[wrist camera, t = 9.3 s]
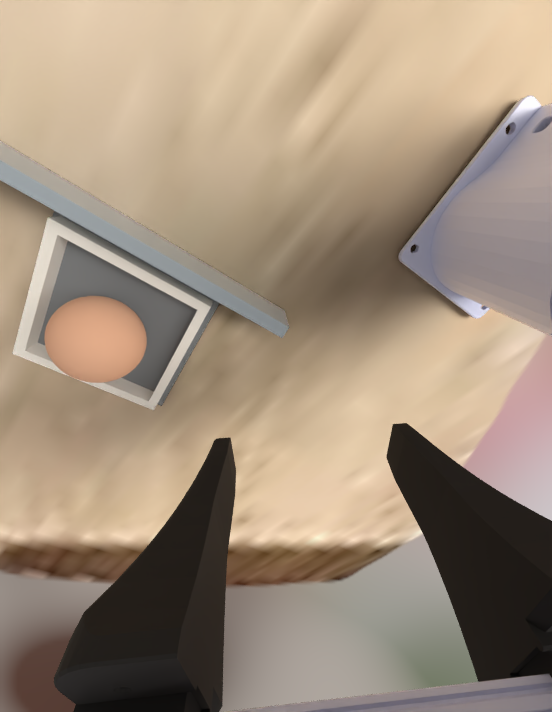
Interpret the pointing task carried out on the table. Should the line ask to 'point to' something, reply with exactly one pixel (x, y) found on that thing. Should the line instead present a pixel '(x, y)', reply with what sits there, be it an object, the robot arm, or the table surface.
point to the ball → (95, 339)
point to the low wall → (135, 238)
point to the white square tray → (125, 284)
